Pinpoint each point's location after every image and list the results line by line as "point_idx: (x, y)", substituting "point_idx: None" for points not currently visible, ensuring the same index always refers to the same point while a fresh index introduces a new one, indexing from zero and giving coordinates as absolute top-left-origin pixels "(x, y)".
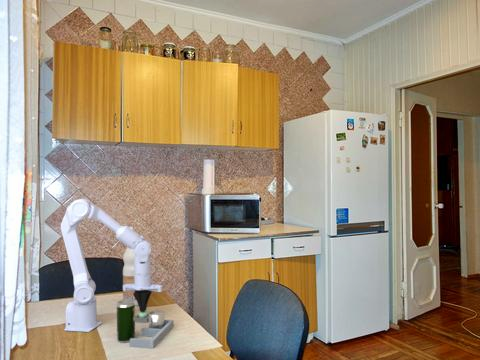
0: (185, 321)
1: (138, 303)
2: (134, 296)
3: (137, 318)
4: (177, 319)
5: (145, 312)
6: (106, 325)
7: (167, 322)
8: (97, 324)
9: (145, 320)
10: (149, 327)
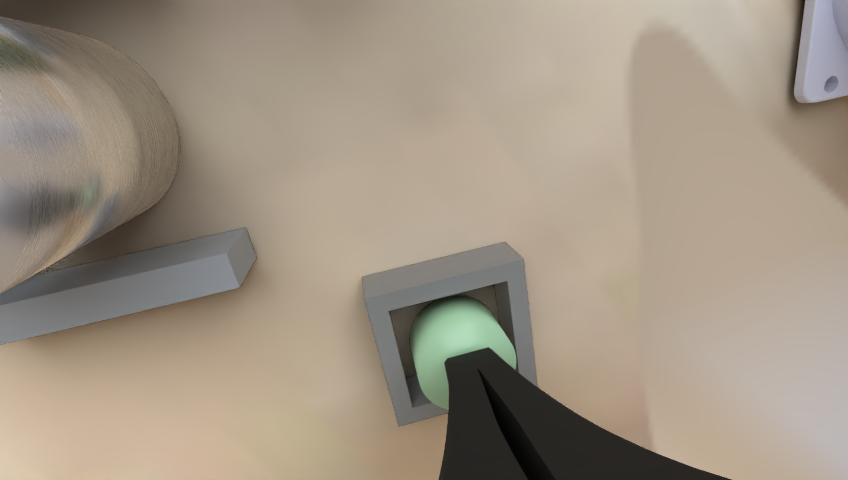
0: (2, 464)
1: (550, 405)
2: (708, 475)
3: (475, 269)
4: (131, 466)
5: (439, 379)
6: (726, 78)
7: (2, 297)
8: (824, 21)
9: (377, 284)
10: (73, 42)
